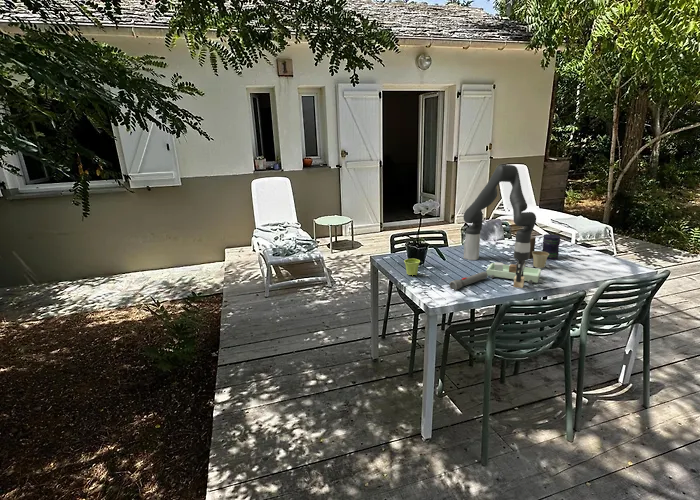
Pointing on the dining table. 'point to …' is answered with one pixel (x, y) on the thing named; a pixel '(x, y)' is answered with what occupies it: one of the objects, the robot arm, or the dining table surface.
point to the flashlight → (467, 280)
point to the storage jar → (551, 246)
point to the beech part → (519, 283)
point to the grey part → (498, 266)
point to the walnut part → (512, 268)
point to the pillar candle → (532, 246)
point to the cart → (528, 273)
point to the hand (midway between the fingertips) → (519, 279)
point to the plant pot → (412, 266)
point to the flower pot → (539, 258)
